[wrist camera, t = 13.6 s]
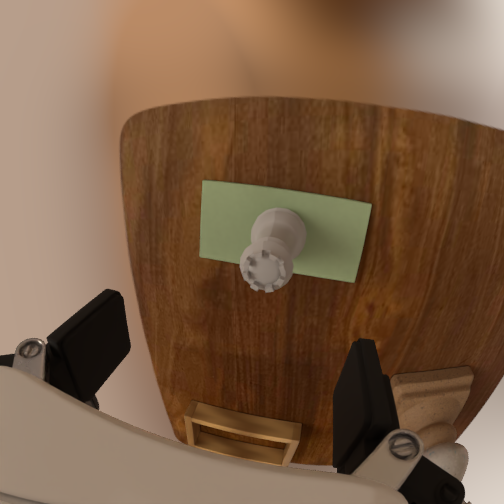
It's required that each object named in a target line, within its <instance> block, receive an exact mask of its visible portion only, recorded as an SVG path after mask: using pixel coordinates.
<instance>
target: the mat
mask: <svg viewBox="0 0 504 504" xmlns="http://www.w3.org/2000/svg"><path fill="white" fill-rule="evenodd" d="M276 207H278V208H285V209H289V210H290V211H292V212H294V213H296V214H297V215H298V216H299V217H300V219H301V220H302V221H303V222H304V225H305V229H306V232H307V235H306V242H305V245H304V248H303V249H302V251H301V253H300V254H299V256H297V257H296V258H294V259H293V260H292V262H293V265H294V267H293V273H296V274H303V275H309V276H315V277H321V278H327V279H333V280H340V281H346V282H352V283H354V282H355V278H356V275H357V271H358V267H359V262H360V258H361V254H362V250H363V245H364V241H365V236H366V232H367V227H368V222H369V217H370V212H371V207H372V204H371V203H367V202H361V201H356V200H351V199H345V198H339V197H333V196H327V195H321V194H315V193H309V192H302V191H296V190H289V189H281V188H274V187H267V186H259V185H251V184H242V183H233V182H224V181H214V180H203V185H202V204H201V227H200V257H203V258H208V259H214V260H220V261H226V262H231V263H237V264H240V257H241V256H242V254H243V252H244V250H245V249H246V248H247V247H248V246H250V245H251V244H252V242H251V229H252V227H253V225H254V223H255V221H256V219H257V217H258V216H259V215H261V214H262V213H263V212H264V211H266V210H269V209H272V208H276Z"/></svg>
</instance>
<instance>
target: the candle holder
mask: <svg viewBox="0 0 504 504" xmlns="http://www.w3.org/2000/svg"><path fill="white" fill-rule="evenodd" d="M473 378H474V374H473V372H472V370H471V368H470V367H469V366H464V367H456V368H449V369H441V370H433V371H425V372H415V373H405V374H397V375H394V376H393V377H392V378H391V381H390V383H391V387H392V392H393V396H394V400H395V405H396V410H397V415H398V419H399V424H400V429H409V430H411V431H413V432H415V433H416V434H418V435H419V436H420V438H421V439H422V441H423V444H424V452H423V454H422V455H423V456H425V457H426V458H428V459H429V460H430V461H432V462H433V463H435V464H436V465H438V466H439V467H441V468H442V469H443V470H445V471H446V472H448V473H449V474H451V475H452V476H454V477H455V478H457V479H458V480H459V481H460V482H461V481H462V479H463V476H464V474H465V471H466V468H467V465H468V452H467V450H466V448H465V447H464V446H463V445H461V444H458V443H454V442H455V439H456V434H457V433H456V429H455V427H454V426H453V425H452V424H453V423H454V421H455V420H456V418H457V416H458V415H459V413H460V411H461V409H462V408H463V406H464V404H465V402H466V400H467V398H468V396H469V393H470V389H471V388H470V385H471V383H472V381H473Z"/></svg>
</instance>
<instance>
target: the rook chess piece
mask: <svg viewBox="0 0 504 504" xmlns="http://www.w3.org/2000/svg"><path fill="white" fill-rule="evenodd" d="M306 235H307V232H306V229H305V225H304V222H303V221H302V220H301V219H300V217H299V216H298V215H297V214H296V213H294V212H292V211H290V210H289V209H285V208H278V207H276V208H272V209H269V210H266V211H264V212H263V213H262V214H261V215H259V216H258V217H257V219H256V221H255V223H254V225H253V227H252V229H251V242H252V244H251V245H250V246H248V247H247V248H246V249H245V250H244V252H243V254H242V256H241V257H240V269H241V272H242V275H243V278H244V280H245V281H246V280H247V282H248V283H249V284H250V285H251V286H250V288H252V289H254V290H256V291H258V289H261V290H265V292H266V293H267V292H272V291H274V290H275V289H279V288H281V287H282V286H284V285H285V284H287V283H288V281H289V280H290V278H291V276H292V273H293V267H294V265H293V262H292V260H293V259H294V258H296V257H297V256H299V254H300V253H301V251H302V249H303V248H304V245H305V242H306Z"/></svg>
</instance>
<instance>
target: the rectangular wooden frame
mask: <svg viewBox="0 0 504 504" xmlns="http://www.w3.org/2000/svg"><path fill="white" fill-rule="evenodd" d="M184 418H185V425H186V432H187V439H188V445H189V446H192V447H196V448H199V449H203V450H206V451H210V452H214V453H218V454H222V455H226V456H230V457H235V458H239V459H244V460H249V461H254V462H259V463H265V464H271V465H277V466H283V467H288V465H289V463H290V461H291V459H292V457H293V455H294V452H295V450H296V448H297V446H298V444H299V442H300V436H301V428H302V423H294V422H288V421H282V420H276V419H270V418H265V417H260V416H254V415H250V414H245V413H240V412H236V411H232V410H227V409H223V408H219V407H215V406H212V405H208V404H204V403H200V402H197V401H194V400H192V401H191V403H190V405H189V407H188V409H187V411H186V413H185V415H184ZM200 424H202V425H205V426H209V427H213V428H216V429H220V430H224V431H228V432H232V433H237V434H241V435H246V436H251V437H256V438H261V439H266V440H272V441H278V442H284V443H287V444H286V446H285V449H284V450H283V449H277V448H271V447H265V446H260V445H255V444H250V443H245V442H240V441H236V440H232V439H227V438H223V437H219V436H215V435H212V434H208V433H204V432H201V430H200Z"/></svg>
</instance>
